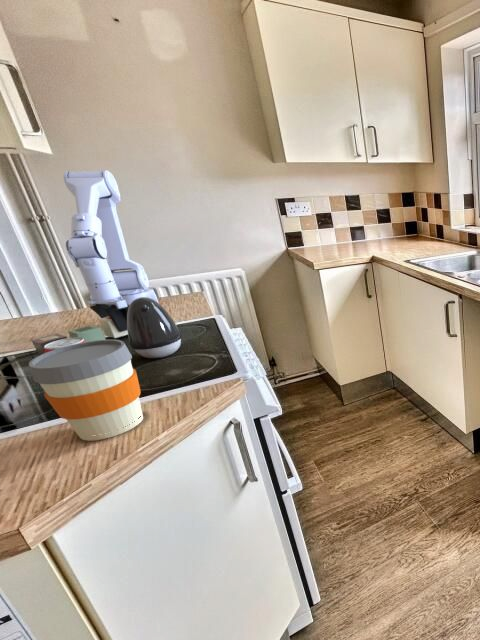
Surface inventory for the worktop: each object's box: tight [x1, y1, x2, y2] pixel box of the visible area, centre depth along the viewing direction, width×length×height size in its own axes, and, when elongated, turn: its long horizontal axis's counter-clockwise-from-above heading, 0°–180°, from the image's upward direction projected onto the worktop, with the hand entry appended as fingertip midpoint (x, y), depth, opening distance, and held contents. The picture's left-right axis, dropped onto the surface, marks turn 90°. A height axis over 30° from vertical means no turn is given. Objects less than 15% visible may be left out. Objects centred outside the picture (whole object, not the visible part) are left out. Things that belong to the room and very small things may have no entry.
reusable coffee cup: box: [28, 339, 144, 442], centre depth 75 cm, size 13×13×15 cm
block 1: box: [31, 333, 68, 356], centre depth 107 cm, size 5×5×5 cm
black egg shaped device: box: [127, 297, 182, 359], centre depth 105 cm, size 10×10×15 cm
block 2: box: [67, 324, 107, 342], centre depth 113 cm, size 5×5×5 cm
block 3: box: [98, 317, 128, 339], centre depth 118 cm, size 5×5×5 cm
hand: (119, 329), depth 119 cm, fingers closed on block 3, 5 cm apart
